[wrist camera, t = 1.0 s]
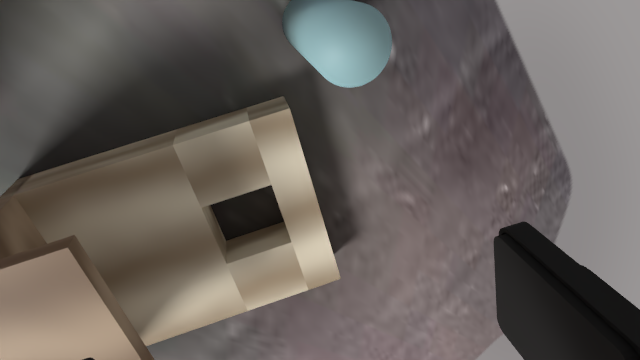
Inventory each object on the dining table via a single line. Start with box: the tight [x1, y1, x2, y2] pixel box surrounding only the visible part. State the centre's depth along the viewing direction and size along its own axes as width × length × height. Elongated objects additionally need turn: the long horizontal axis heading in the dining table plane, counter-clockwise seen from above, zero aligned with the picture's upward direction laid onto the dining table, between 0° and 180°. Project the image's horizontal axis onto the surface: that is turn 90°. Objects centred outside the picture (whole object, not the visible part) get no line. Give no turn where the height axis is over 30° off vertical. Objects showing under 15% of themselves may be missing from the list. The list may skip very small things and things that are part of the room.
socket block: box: [0, 96, 341, 360], centre depth 27 cm, size 14×18×12 cm
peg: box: [282, 0, 392, 87], centre depth 23 cm, size 4×4×10 cm
